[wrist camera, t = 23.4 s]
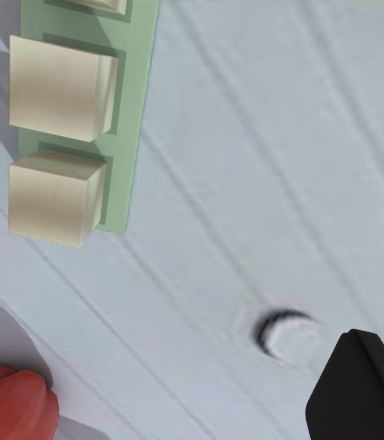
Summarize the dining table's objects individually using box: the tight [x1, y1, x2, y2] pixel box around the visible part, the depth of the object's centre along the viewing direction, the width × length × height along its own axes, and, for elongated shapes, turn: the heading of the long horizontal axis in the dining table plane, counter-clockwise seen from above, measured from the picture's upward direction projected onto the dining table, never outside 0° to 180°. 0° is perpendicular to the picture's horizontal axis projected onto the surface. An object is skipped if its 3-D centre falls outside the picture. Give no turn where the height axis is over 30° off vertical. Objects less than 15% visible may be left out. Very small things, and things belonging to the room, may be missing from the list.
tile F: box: [9, 149, 107, 248], centre depth 26 cm, size 5×5×5 cm
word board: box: [18, 0, 160, 235], centre depth 26 cm, size 22×9×1 cm, turn 168°
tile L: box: [9, 35, 119, 142], centre depth 23 cm, size 5×5×5 cm
